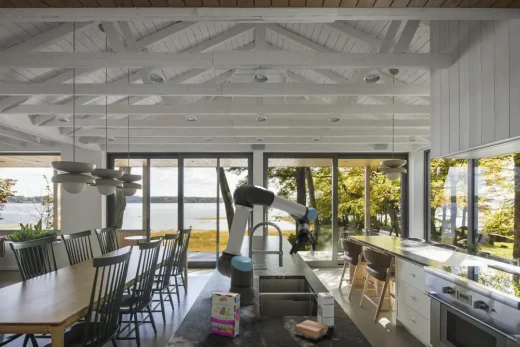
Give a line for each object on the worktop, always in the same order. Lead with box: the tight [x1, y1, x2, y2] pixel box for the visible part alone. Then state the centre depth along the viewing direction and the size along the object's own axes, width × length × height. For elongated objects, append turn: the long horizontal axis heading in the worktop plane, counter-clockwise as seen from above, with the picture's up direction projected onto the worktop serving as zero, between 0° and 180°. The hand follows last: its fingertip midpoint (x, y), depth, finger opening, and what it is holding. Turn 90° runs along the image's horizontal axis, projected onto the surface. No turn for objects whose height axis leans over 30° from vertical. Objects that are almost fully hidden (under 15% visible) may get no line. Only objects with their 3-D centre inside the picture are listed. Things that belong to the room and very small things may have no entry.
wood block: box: [294, 319, 329, 338], centre depth 153 cm, size 10×10×4 cm
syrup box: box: [316, 292, 335, 326], centre depth 163 cm, size 6×6×14 cm
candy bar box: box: [209, 290, 241, 338], centre depth 150 cm, size 11×5×16 cm, turn 69°
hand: (303, 258), depth 218 cm, fingers open, 13 cm apart
